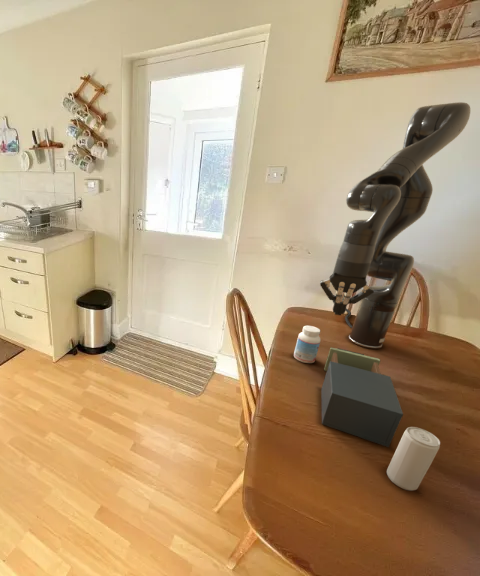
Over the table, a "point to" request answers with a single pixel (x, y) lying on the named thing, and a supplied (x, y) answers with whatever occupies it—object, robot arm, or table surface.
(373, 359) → the drawer
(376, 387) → the cabinet
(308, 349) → the pill bottle
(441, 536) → the table surface
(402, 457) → the beverage can
